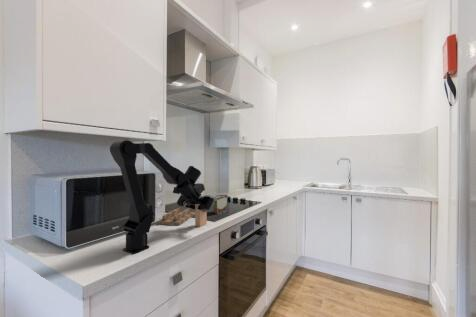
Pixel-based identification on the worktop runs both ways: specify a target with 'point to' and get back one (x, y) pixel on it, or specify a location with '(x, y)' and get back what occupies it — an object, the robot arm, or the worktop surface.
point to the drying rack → (176, 217)
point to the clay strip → (200, 217)
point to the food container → (220, 203)
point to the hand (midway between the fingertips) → (202, 211)
